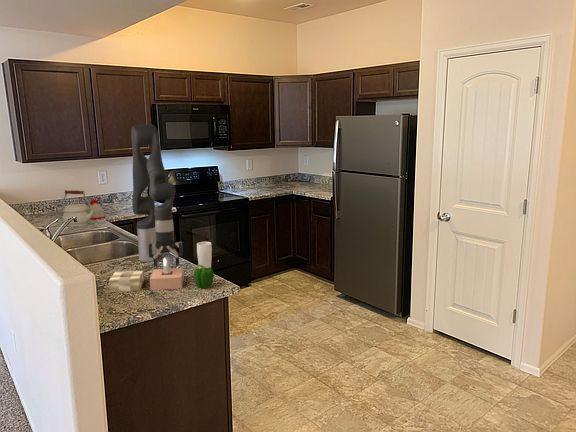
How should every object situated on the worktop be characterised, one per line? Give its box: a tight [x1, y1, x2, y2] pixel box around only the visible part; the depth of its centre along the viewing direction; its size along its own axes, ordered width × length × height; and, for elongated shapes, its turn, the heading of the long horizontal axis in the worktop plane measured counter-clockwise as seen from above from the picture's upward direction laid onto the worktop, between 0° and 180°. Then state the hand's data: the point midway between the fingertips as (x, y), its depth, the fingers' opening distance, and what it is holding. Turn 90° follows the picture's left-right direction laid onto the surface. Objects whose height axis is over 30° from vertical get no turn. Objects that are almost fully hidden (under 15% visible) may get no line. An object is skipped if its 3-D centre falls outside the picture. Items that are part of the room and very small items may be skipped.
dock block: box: [149, 267, 185, 291], centre depth 195 cm, size 13×13×5 cm
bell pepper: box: [193, 264, 215, 289], centre depth 191 cm, size 8×8×10 cm
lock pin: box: [162, 256, 171, 275], centre depth 194 cm, size 3×3×12 cm
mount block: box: [108, 270, 145, 293], centre depth 192 cm, size 12×12×5 cm
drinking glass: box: [196, 241, 213, 269], centre depth 207 cm, size 7×7×15 cm
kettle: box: [60, 189, 95, 228], centre depth 318 cm, size 25×18×25 cm
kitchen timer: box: [87, 198, 106, 221], centre depth 343 cm, size 14×14×15 cm
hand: (166, 265), depth 194 cm, fingers open, 8 cm apart
